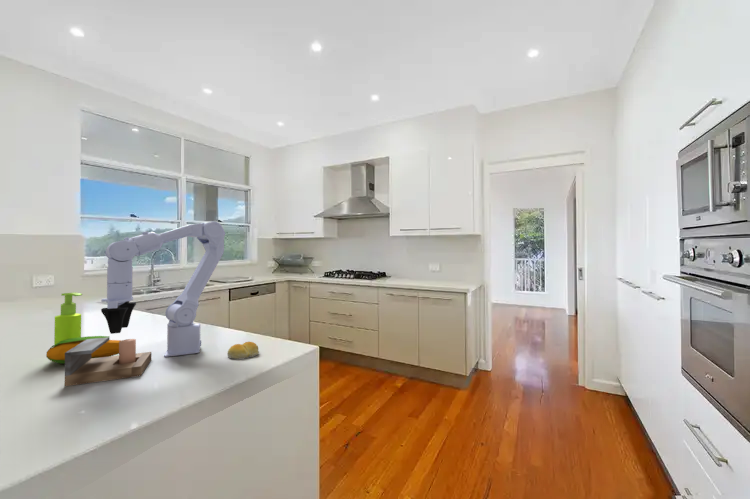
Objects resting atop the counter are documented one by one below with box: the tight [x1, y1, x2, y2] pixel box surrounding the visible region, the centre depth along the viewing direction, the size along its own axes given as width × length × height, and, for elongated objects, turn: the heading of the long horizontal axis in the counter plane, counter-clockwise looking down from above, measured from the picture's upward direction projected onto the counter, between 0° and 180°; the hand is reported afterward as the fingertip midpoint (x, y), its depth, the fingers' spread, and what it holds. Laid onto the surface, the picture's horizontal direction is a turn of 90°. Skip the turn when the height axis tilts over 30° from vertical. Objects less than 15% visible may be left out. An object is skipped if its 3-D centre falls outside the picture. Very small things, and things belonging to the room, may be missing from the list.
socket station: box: [63, 337, 152, 387], centre depth 86 cm, size 15×14×8 cm
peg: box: [118, 338, 137, 364], centre depth 87 cm, size 4×4×8 cm
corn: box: [45, 335, 123, 365], centre depth 96 cm, size 7×8×20 cm
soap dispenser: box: [53, 292, 83, 345], centre depth 98 cm, size 6×7×20 cm
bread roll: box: [227, 341, 260, 360], centre depth 100 cm, size 8×9×4 cm
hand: (119, 330), depth 91 cm, fingers open, 7 cm apart
